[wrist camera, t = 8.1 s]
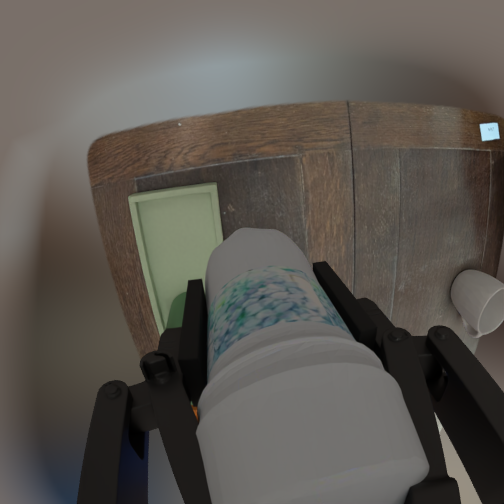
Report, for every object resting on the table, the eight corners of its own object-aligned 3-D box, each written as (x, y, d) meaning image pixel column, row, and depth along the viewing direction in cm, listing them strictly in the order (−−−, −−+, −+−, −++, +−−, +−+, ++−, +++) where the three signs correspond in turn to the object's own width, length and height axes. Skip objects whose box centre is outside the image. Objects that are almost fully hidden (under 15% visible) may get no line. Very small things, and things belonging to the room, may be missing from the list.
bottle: (271, 320, 23) (358, 606, 4) (186, 286, 21) (166, 630, 2) (320, 242, 21) (529, 523, 2) (231, 197, 19) (350, 651, 1)
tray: (132, 193, 36) (127, 197, 34) (216, 181, 37) (216, 184, 35) (181, 393, 49) (181, 401, 47) (243, 387, 49) (244, 395, 47)
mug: (446, 270, 46) (483, 297, 36) (480, 257, 46) (516, 280, 37) (440, 328, 50) (469, 358, 41) (472, 313, 51) (501, 339, 41)
